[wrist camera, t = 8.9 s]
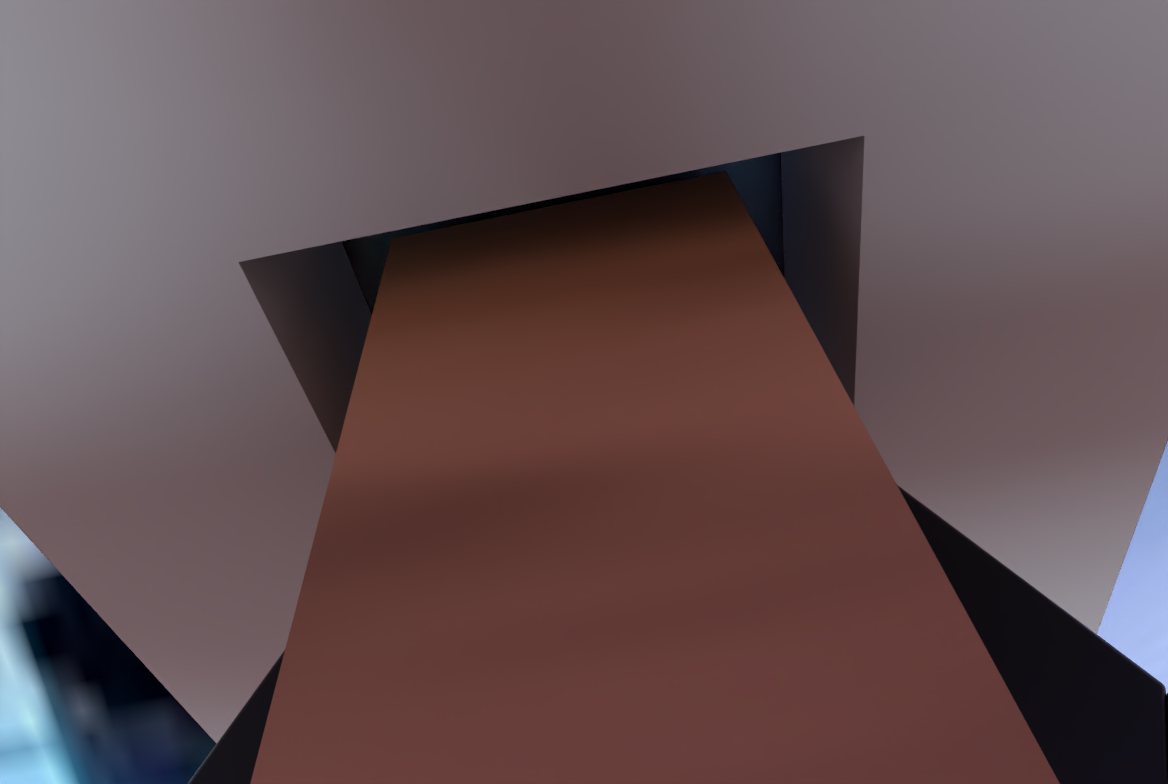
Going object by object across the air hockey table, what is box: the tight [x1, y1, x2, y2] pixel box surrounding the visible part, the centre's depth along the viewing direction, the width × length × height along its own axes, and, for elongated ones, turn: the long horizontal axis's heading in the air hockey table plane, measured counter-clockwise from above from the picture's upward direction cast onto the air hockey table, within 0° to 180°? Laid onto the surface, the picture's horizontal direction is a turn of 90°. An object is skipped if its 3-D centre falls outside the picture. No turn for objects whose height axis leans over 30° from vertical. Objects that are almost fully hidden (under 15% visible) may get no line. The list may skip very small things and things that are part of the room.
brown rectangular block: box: [250, 171, 1060, 784], centre depth 7 cm, size 4×4×9 cm
